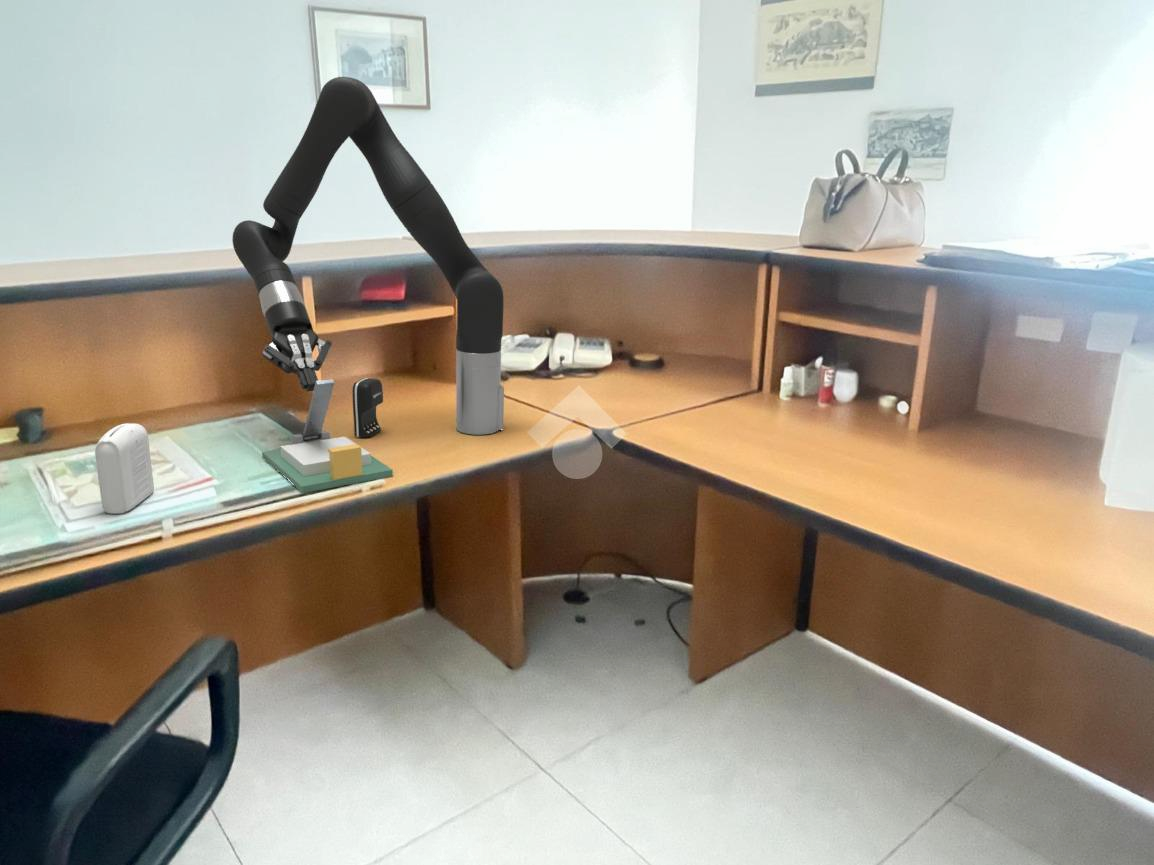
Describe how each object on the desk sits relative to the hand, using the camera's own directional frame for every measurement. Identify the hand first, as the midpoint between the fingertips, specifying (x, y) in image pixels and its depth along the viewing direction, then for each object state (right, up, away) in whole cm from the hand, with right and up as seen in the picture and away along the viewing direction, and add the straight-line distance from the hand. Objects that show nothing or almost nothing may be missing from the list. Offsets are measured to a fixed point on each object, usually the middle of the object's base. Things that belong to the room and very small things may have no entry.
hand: (311, 388), depth 144 cm
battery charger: (+5, -8, +20) cm, 22 cm away
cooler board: (+3, -14, 0) cm, 14 cm away
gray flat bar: (+2, -5, -1) cm, 5 cm away
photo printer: (-22, -19, -19) cm, 35 cm away
